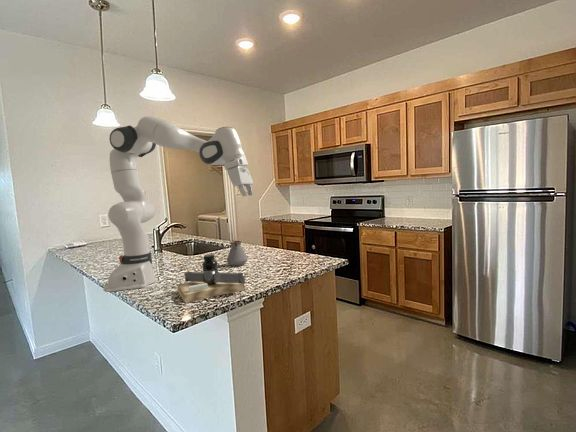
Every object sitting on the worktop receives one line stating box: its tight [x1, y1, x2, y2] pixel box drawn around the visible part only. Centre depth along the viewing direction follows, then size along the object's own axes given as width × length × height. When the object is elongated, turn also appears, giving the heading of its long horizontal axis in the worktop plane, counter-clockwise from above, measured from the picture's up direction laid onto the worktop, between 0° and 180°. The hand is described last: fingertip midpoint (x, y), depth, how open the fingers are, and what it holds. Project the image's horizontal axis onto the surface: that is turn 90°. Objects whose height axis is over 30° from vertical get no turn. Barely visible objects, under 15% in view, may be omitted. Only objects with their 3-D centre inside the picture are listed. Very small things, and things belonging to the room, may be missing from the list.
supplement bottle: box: [201, 254, 219, 273], centre depth 150 cm, size 7×7×12 cm
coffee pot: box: [226, 240, 249, 267], centre depth 175 cm, size 21×12×15 cm, turn 9°
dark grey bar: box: [184, 270, 246, 285], centre depth 135 cm, size 28×5×5 cm, turn 73°
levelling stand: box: [177, 281, 246, 303], centre depth 135 cm, size 24×16×5 cm, turn 118°
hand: (248, 195), depth 137 cm, fingers open, 8 cm apart
